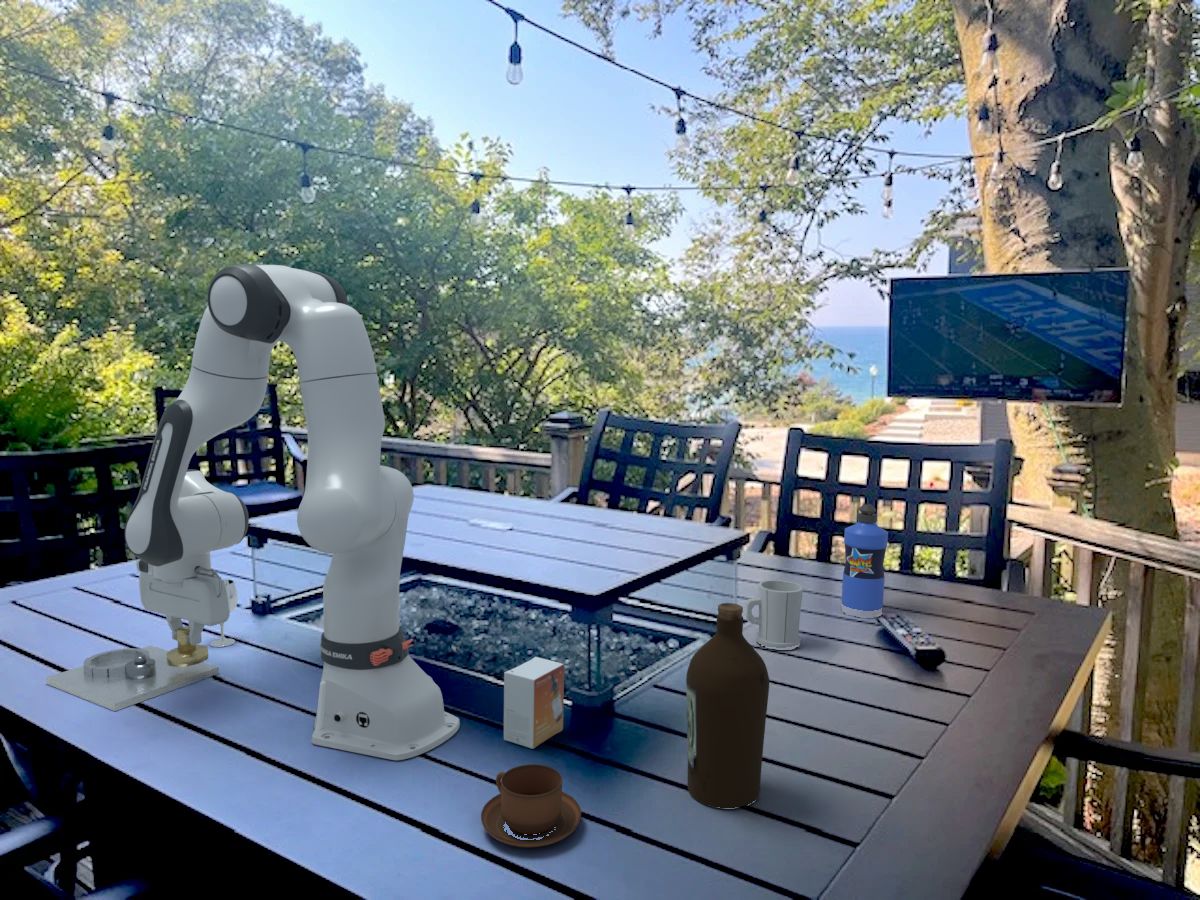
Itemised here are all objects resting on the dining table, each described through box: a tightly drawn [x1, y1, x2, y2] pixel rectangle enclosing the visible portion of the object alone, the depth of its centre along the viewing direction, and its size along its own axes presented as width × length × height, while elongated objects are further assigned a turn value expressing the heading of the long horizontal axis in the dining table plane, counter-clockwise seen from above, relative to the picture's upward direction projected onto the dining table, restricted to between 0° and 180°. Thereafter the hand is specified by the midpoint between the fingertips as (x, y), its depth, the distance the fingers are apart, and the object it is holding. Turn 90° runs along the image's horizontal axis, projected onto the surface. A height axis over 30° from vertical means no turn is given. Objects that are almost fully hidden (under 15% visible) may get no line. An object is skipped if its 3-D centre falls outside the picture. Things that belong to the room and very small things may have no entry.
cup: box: [744, 579, 804, 648], centre depth 161 cm, size 10×9×12 cm
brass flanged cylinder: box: [166, 625, 209, 667], centre depth 139 cm, size 6×6×6 cm
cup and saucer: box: [480, 763, 582, 848], centre depth 97 cm, size 12×12×6 cm
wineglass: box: [209, 579, 239, 648], centre depth 155 cm, size 6×6×12 cm
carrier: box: [45, 645, 220, 712], centre depth 138 cm, size 20×18×4 cm
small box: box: [503, 656, 565, 750], centre depth 120 cm, size 8×6×10 cm
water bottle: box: [840, 503, 889, 611], centre depth 182 cm, size 9×9×25 cm
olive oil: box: [685, 602, 770, 808], centre depth 104 cm, size 11×11×25 cm
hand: (186, 641), depth 139 cm, fingers closed on brass flanged cylinder, 3 cm apart
